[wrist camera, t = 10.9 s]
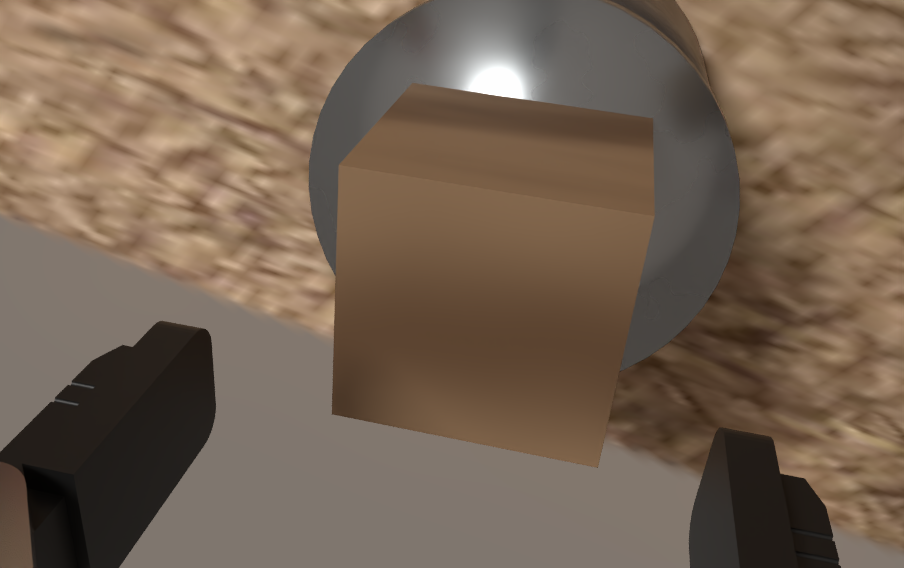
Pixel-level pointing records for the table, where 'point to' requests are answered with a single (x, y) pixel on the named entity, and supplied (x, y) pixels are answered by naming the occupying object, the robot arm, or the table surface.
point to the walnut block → (490, 269)
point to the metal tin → (572, 84)
